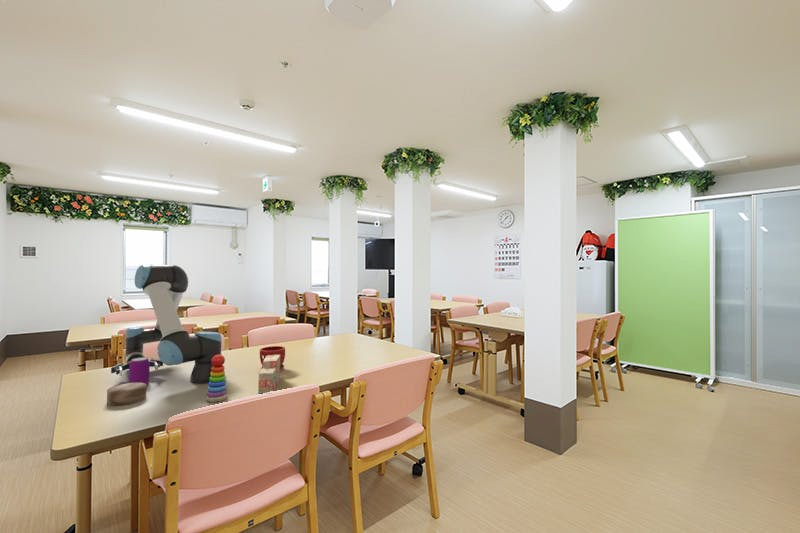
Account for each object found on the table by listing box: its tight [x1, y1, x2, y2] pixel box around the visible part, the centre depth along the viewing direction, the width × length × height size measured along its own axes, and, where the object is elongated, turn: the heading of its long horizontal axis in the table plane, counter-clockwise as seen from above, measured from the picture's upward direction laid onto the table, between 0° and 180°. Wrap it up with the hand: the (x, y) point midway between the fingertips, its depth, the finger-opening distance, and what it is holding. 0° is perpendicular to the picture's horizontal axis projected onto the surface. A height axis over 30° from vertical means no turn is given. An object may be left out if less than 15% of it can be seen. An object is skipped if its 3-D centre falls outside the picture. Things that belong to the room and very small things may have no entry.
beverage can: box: [128, 356, 151, 385], centre depth 167 cm, size 8×8×12 cm
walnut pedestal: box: [106, 382, 147, 407], centre depth 149 cm, size 13×13×5 cm
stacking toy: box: [205, 354, 228, 403], centre depth 151 cm, size 8×8×19 cm
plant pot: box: [259, 345, 286, 371], centre depth 193 cm, size 13×13×12 cm
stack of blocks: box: [257, 355, 281, 395], centre depth 168 cm, size 21×6×12 cm, turn 10°
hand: (139, 370), depth 166 cm, fingers open, 13 cm apart
